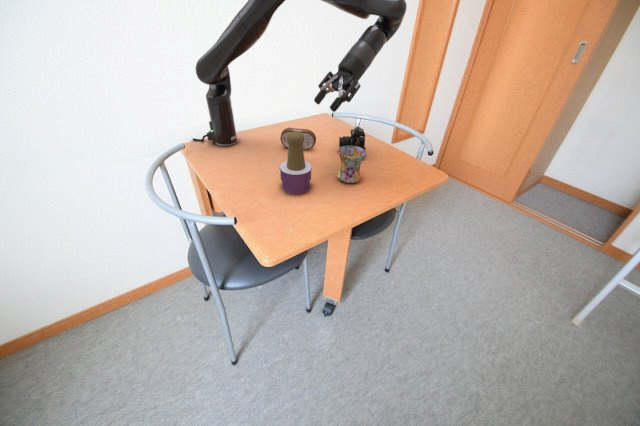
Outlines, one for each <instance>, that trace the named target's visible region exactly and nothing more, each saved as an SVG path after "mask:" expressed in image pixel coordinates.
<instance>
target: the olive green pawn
mask: <svg viewBox="0 0 640 426" xmlns="http://www.w3.org/2000/svg"><path fill="white" fill-rule="evenodd" d="M287 142H288V143H289V148H287V159H286V161H287V168H288V169H289V170H292V171H300V170H303V169H304V168H305V161H306V159H305V154H304V153H305V152H304V150H303V145H302V144H303V142H304V135H303V134H302V133H300V132H291V133H289V134H288V135H287Z"/></svg>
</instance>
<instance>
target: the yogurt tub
mask: <svg viewBox="0 0 640 426" xmlns="http://www.w3.org/2000/svg"><path fill="white" fill-rule="evenodd" d="M278 167H279V171H280V180H281V184H282V185H281V187H282V190H283V191H284V192H285V193H287V194H290V195H300V194H301V195H302V194H305V193H307V192H309V190H310V188H311V179H312V170H313V165H312V164H311V163H310V162H308V161H306V160H305V168H304V169H303V170H300V171H292V170H289V169H288V168H287V160H285V161H283V162H281V164H279V166H278Z"/></svg>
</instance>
